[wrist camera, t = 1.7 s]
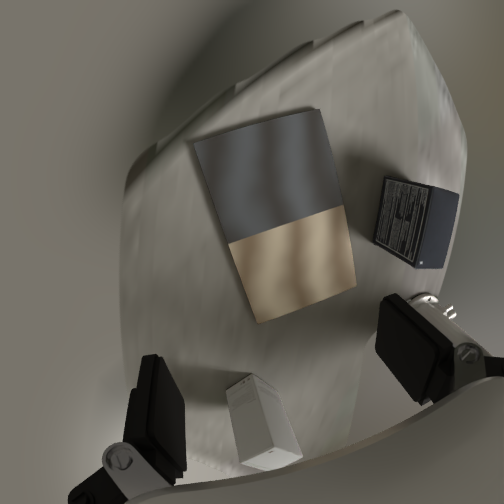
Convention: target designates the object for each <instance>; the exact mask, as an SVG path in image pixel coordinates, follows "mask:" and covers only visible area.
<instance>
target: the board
mask: <svg viewBox="0 0 504 504" xmlns="http://www.w3.org/2000/svg"><path fill="white" fill-rule="evenodd" d="M193 145H194V148H195V151H196V154H197V156H198V159H199V162H200V165H201V168H202V171H203V174H204V177H205V180H206V183H207V186H208V189H209V191H210V194H211V197H212V200H213V203H214V206H215V209H216V211H217V214H218V217H219V220H220V223H221V226H222V228H223V231H224V234H225V237H226V240H227V242H228V245H229V248H230V251H231V253H232V256H233V259H234V262H235V264H236V267H237V270H238V273H239V275H240V278H241V281H242V284H243V286H244V289H245V292H246V294H247V297H248V300H249V302H250V305H251V308H252V310H253V313H254V316H255V318H256V321H257V324H261V323H263V322H266V321H269V320H272V319H275V318H277V317H280V316H283V315H285V314H288V313H291V312H293V311H296V310H299V309H301V308H304V307H306V306H309V305H312V304H314V303H317V302H319V301H322V300H324V299H327V298H329V297H332V296H334V295H336V294H339V293H341V292H344V291H346V290H348V289H351V288H353V287H355V286H357V285H356V277H355V269H354V262H353V256H352V249H351V243H350V237H349V231H348V226H347V220H346V215H345V210H344V205H343V200H342V195H341V190H340V186H339V181H338V177H337V172H336V168H335V164H334V160H333V156H332V152H331V148H330V144H329V140H328V136H327V133H326V129H325V126H324V122H323V119H322V115H321V112H320V109H316V110H311V111H306V112H302V113H297V114H293V115H288V116H284V117H280V118H276V119H272V120H268V121H264V122H261V123H257V124H253V125H250V126H246V127H243V128H239V129H236V130H233V131H229V132H226V133H223V134H220V135H217V136H214V137H211V138H208V139H205V140H202V141H199V142H196V143H193Z"/></svg>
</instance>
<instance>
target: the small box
mask: <svg viewBox="0 0 504 504" xmlns="http://www.w3.org/2000/svg"><path fill="white" fill-rule="evenodd" d="M458 201H459V194H457V193H455V192H452V191H449V190H445V189H442V188H438V187H435V186H430V185H425V184H421V183H417V182H412V181H408V180H403V179H399V178H395V177H391V176H384V182H383V188H382V195H381V200H380V206H379V212H378V217H377V222H376V227H375V233H374V237H373V244H374V245H377V246H379V247H381V248H383V249H384V250H386V251H388V252H389V253H391V254H393V255H394V256H396V257H398V258H399V259H401V260H403V261H404V262H406V263H408V264H409V265H411V266H412V267H413V268H415V269H442V268H443V266H444V262H445V259H446V255H447V251H448V247H449V243H450V239H451V235H452V231H453V226H454V222H455V217H456V212H457V207H458Z"/></svg>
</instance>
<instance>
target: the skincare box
mask: <svg viewBox="0 0 504 504" xmlns="http://www.w3.org/2000/svg"><path fill="white" fill-rule="evenodd" d="M226 396H227V402H228V407H229V412H230V417H231V422H232V427H233V432H234V437H235V442H236V447H237V451H238V456H239V461H240V463H241V464H244V465H248V466H251V467H254V468H258V469H261V470H265V471H270V470H274V469H278V468H282V467H284V466H286V465H288V464H290V463H292V462H294V461H296V460H298V459H300V458H302V457H303V455H302V453H301V450H300V447H299V445H298V442H297V440H296V437H295V435H294V432H293V430H292V427H291V425H290V422H289V419H288V417H287V414H286V412H285V409H284V407H283V404H282V401H281V399H280V396H279V393H278V391H277V390H275V389H274V388H272V387H271V386H269V385H268V384H267V383H265V382H264V381H262V380H261V379H259V378H258V377H256V376H255V375H254V374H250V375H249V376H247V377H246V378H244V379H243V380H241V381H240V382H238V383H237V384H235V385H233V386H232V387H230V388H229V389H227V390H226Z"/></svg>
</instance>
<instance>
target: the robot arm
mask: <svg viewBox="0 0 504 504" xmlns="http://www.w3.org/2000/svg"><path fill="white" fill-rule="evenodd" d="M455 316H456V312H455V310H453V305H452V304H451V303H450V304H448V305H446V306H445V307H441V306H440V305H439V301H438V299H437V298H436V297H435V296H433V295H432V294H428V293H427V294H422V295H419V296H417V297H415V298H414V299H412V300H411V301H410V302H409V303H407V302H406V301H405V300H404V299H402V298H401V297H400V296H399V295H398V294H396V293H394V294H391V295H388V296H386V297H384V298H383V300H382V301H381V303H380V309H379V319H378V328H377V337H376V343H375V350H376V353H377V354H378V356H379V357H380V358H381V359H382V361H383V362H384V363H385V364H386V366H387V367H388V368H389V369H390V371H391V372H392V373H393V375H394V376H395V377H396V378H397V380H398V381H399V382H400V383H401V385H402V386H403V387H404V389H405V390H406V391H407V392H408V394H409V395H410V397H411V398H412V399H413V400H414V401H415V402H417V401H418V403H419V404H420V405H421V406H422V405H424V404H426V403H427V402H429V401H430V400H432V402H433V405H431V406H430V407H428V408H426V409H424V410H423V411H421V412H419V413H418V414H416V415H414V416H412V417H410V418H408V419H406V420H404V421H403V422H401V423H399V424H397V425H395V426H393V427H391V428H389V429H387V430H384V431H382V432H380V433H378V434H376V435H374V436H372V437H369V438H367V439H364V440H362V441H360V442H357V443H355V444H352V445H350V446H347V447H345V448H342V449H340V450H337V451H334V452H331V453H328V454H326V455H323V456H320V457H317V458H313V459H310V460H307V461H304V462H300V463H297V464H293V465H290V466H286V467H282V468H278V469H274V470H270V471H265V472H261V473H256V474H251V475H246V476H240V477H234V478H229V479H222V480H215V481H208V482H199V483H192V484H184V485H176V486H174V484H175V483H176V478H183V471H186V470H187V462H186V438H185V403H184V399H183V397H182V395H181V393H180V391H179V389H178V387H177V385H176V383H175V382H174V380H173V378H172V376H171V374H170V372H169V369H168V367H167V365H166V363H165V361H164V359H163V357H158V355H157V354H152V355H146V356H143V357H142V361H141V366H140V371H139V377H138V382H137V388H133V389H132V390H131V393H130V398H129V403H128V409H127V416H126V422H125V428H124V435H123V442H118V443H114V444H112V445H110V446H109V447H108V448H107V449H106V450H105V451H104V453H103V456H102V464H103V467H102V468H100V469H99V470H98V471H97V472H95V473H94V474H92V475H91V476H90V477H88V478H87V479H86V480H84V481H83V482H82V483H80V484H79V485H78V486H76V487H75V488H74V489H73V490H72V491H71V492H70V494H69V495H68V504H504V358H500V357H494V356H493V355H491V354H490V353H489V352H488V351H487V350H486V349H485V348H483V347H482V346H481V345H480V344H479V343H478V342H477V341H475V340H474V339H473V338H472V337H471V336H470V335H468V334H467V333H466V332H465V331H464V330H463V329H461V328H460V327H459V326H458V325H457V324H455V323H454V322H453V321H452V320H451V319H453V318H454V317H455Z"/></svg>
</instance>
